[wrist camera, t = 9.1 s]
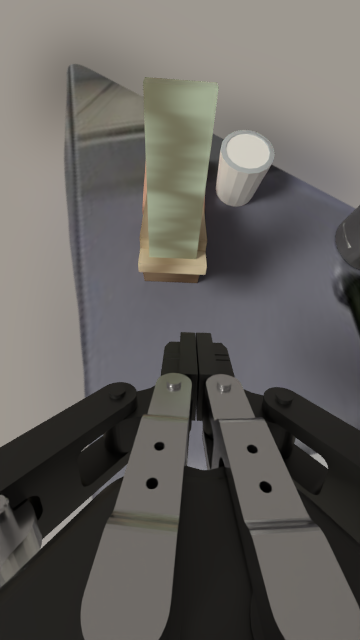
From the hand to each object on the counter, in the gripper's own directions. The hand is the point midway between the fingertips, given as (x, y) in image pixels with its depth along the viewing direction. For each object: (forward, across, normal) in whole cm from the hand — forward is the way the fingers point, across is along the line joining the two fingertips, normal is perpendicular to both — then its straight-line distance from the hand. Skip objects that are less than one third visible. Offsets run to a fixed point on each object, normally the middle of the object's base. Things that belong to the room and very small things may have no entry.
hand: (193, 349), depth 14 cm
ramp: (+18, +2, -4) cm, 19 cm away
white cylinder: (+34, -7, -8) cm, 35 cm away
